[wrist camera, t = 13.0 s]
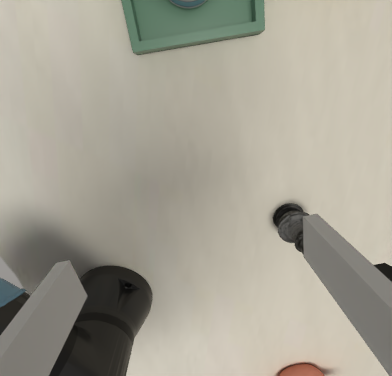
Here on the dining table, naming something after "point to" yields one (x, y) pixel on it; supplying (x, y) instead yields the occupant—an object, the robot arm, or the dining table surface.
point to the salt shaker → (290, 224)
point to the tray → (190, 23)
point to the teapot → (301, 370)
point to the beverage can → (188, 3)
